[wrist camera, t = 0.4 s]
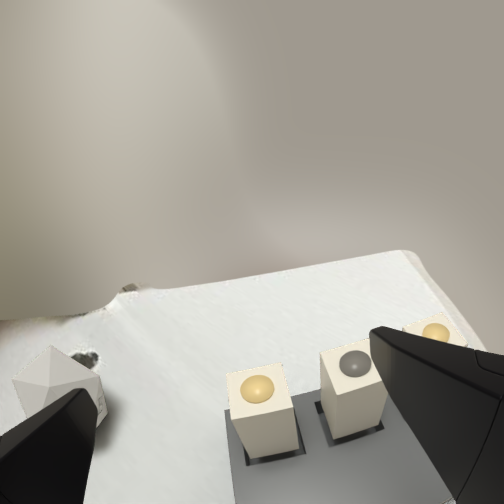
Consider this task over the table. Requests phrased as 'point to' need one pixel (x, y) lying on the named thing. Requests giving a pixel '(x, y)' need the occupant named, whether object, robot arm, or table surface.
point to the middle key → (351, 389)
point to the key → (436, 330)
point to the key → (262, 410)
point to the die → (56, 382)
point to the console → (338, 464)
